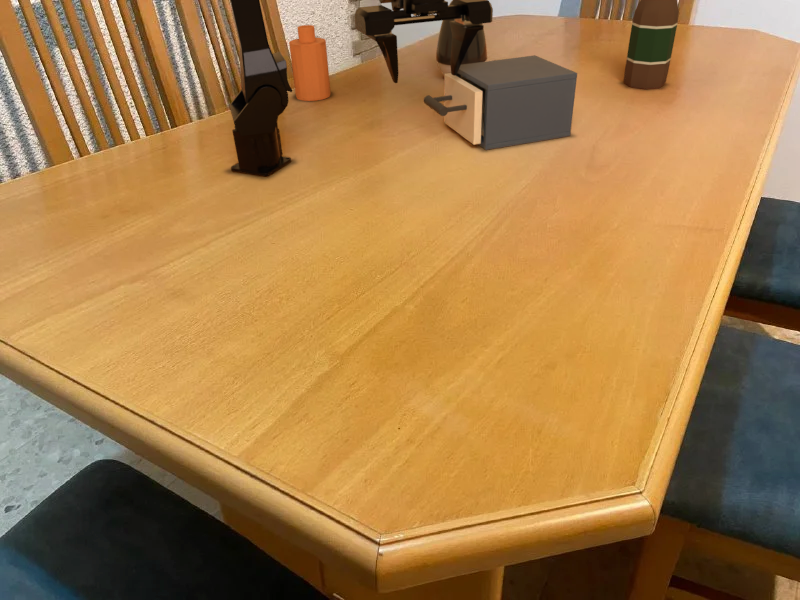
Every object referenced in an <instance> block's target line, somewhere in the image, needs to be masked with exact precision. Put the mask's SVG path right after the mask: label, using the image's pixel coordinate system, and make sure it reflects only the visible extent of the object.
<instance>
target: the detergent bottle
mask: <svg viewBox="0 0 800 600" xmlns="http://www.w3.org/2000/svg"><path fill="white" fill-rule="evenodd" d="M297 36H298V38H295V39H291V40H290V41H289V42H288V44H289V45H288V46H289V51H290V52H289V53H290V54H289V55H290V60H291V61H290V62H291V69H292V78H293V85H294V92H295V97H296V99H297V100H300V101H305V102H314V101H316V102H317V101H322V100H325V99H328V98H330V97H331V81H330V73H329V62H328V60H329V59H328V51H327V41H326V38H323V37H316V32H315V25H312V24H305V25H304V24H303V25H298V26H297Z"/></svg>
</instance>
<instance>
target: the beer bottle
mask: <svg viewBox="0 0 800 600" xmlns="http://www.w3.org/2000/svg"><path fill="white" fill-rule="evenodd" d="M679 9H680V8H679V3H678V0H639V2H638V4H637V6H636V8H635V10H634V13H633V17H632V22H631V27H630V34H629V40H628V48H627V54H626V60H625V67H624V76H623V83H624V84H625V85H626V86H628V87H630V88H632V89H639V90H655V89H660V88H662V87H663V86H664V85H665V84H666V82H667V79H668V75H669V70H670V65H671V61H672V60H671V59H672V55H673V48H674V43H675V38H676V33H677V28H678V23H679V15H680V10H679Z"/></svg>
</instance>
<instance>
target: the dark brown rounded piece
mask: <svg viewBox="0 0 800 600" xmlns="http://www.w3.org/2000/svg"><path fill="white" fill-rule="evenodd" d="M452 2H453V0H451V1H450V3H448V5H451V4H452ZM450 21H455V19H451V20H441V25H440V28H439V33H438V38H437V44H436V50H435V51H436V52H435V61H436V62H437V65H438V69H439V71H440V72H441V74H442V75H443V76H444V74H447V73H451V47H452V31H451V27H450ZM483 24H484V23H482V24H481V25H483ZM487 47H488V46H487V39H486V33H485V27H484V28H483V30H479V31H478V32H477V34H476V35H475V37H474V39H473V41H472V43H471V44H470V46H469V48H468V50H467V52H466V54H465V56H464V59H463V61H462V63H461V65H463V64H471V63H479V62H486V61H487V59H488V48H487Z"/></svg>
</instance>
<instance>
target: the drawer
mask: <svg viewBox="0 0 800 600" xmlns="http://www.w3.org/2000/svg"><path fill="white" fill-rule="evenodd" d="M443 76H444V77H443V78H444V82H443V85H444V91H443V94H444V95H442V96H435V97H434V96H432V95H425V96H424V98H423V104H425V105H426V106H427V107H428V108H430V109H431V110H433V111H434V112H435V113H437V114H438V115H440V117H443V123H444V124H445V125H447V126H448V127H449V128H451V129H452V130H454V131H455V132H456V133H457V134H459V135H460V136H461V137H463V138H464V139H465V140H467V141H468V142H469V143H470V144H472V145H473V146H475V145H478V144H481V135H482V136H484V118H485V92H486V89H484V88H482V87H481V86H479V85H477V84H475V83H474V82H472V81H470V80H468V79H467V78H465V77H463V76H461V78H459V77H457V76H456V75H455V76H453V75H452V74H451V73H447V74H444V75H443ZM441 102H444V104H443V103H441Z"/></svg>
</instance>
